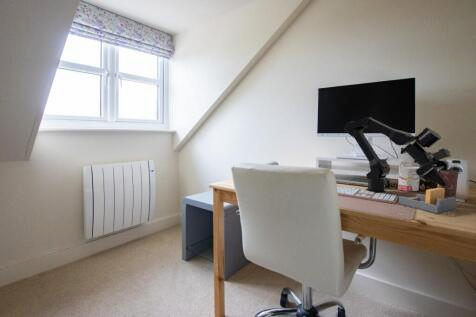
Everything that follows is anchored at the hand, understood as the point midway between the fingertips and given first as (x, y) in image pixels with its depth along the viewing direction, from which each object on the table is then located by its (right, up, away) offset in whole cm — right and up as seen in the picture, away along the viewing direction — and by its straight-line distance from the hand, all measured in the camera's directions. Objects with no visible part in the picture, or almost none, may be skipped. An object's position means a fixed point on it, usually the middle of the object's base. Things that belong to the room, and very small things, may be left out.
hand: (449, 184), depth 102 cm
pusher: (-10, -9, -5) cm, 14 cm away
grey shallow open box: (-11, -9, -2) cm, 14 cm away
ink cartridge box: (+1, -6, +26) cm, 27 cm away
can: (0, -9, +2) cm, 9 cm away
